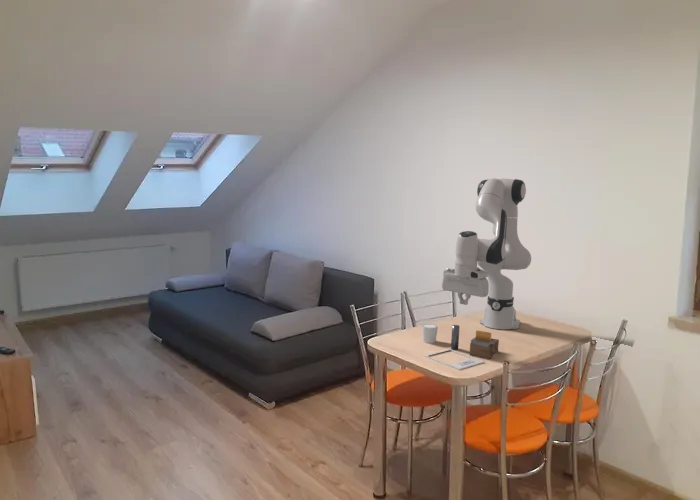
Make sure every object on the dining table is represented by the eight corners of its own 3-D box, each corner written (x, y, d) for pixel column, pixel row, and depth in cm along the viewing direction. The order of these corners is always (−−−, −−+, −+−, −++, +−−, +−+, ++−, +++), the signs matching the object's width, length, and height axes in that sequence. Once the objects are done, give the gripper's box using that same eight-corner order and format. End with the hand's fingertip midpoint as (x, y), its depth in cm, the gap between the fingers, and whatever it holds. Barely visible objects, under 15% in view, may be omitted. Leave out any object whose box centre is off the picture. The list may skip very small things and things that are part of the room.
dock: (479, 347, 235) (480, 336, 234) (498, 351, 230) (498, 339, 230) (469, 355, 224) (470, 343, 224) (488, 359, 220) (489, 347, 220)
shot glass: (437, 340, 244) (438, 324, 243) (436, 344, 237) (436, 328, 236) (422, 338, 246) (423, 323, 245) (420, 342, 239) (420, 327, 238)
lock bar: (475, 340, 227) (475, 330, 227) (492, 343, 224) (492, 333, 223) (470, 343, 223) (471, 332, 223) (488, 346, 219) (488, 336, 219)
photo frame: (459, 368, 207) (425, 355, 221) (459, 371, 207) (424, 357, 221) (484, 361, 216) (449, 348, 230) (484, 363, 216) (449, 351, 230)
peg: (452, 347, 234) (453, 324, 233) (459, 348, 232) (460, 325, 231) (449, 349, 232) (451, 326, 230) (456, 350, 230) (457, 327, 229)
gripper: (439, 268, 231) (438, 300, 233) (483, 275, 217) (481, 309, 219) (448, 267, 236) (446, 298, 238) (491, 273, 222) (489, 307, 224)
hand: (463, 304), depth 228 cm, fingers closed
